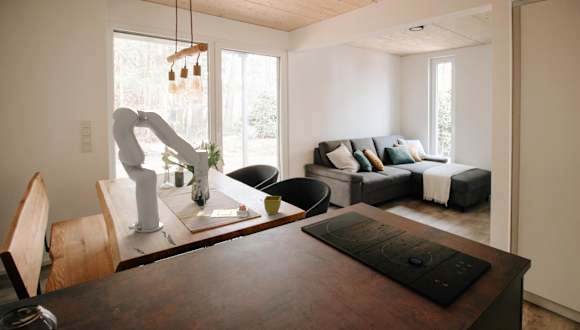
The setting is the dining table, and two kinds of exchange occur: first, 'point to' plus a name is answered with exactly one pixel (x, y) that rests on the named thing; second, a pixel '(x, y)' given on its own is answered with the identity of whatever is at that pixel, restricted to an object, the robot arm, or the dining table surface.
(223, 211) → the board
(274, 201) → the flower pot
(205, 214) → the coaster
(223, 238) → the dining table surface
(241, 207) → the button
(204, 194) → the marker
